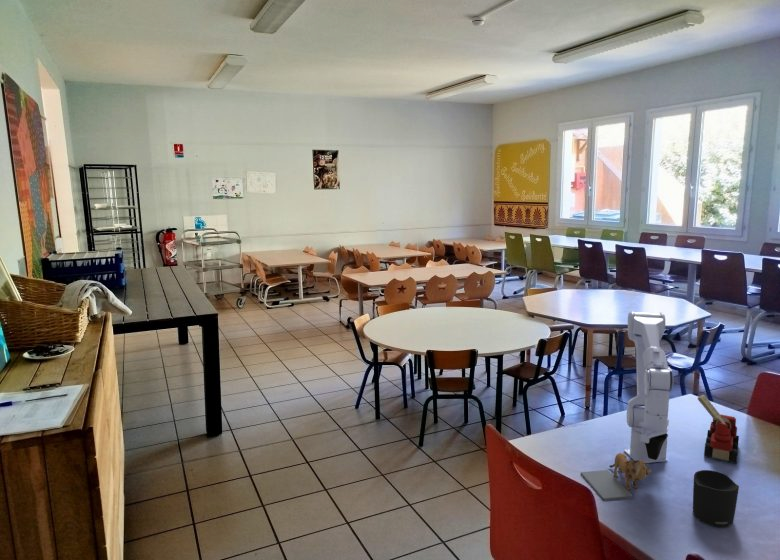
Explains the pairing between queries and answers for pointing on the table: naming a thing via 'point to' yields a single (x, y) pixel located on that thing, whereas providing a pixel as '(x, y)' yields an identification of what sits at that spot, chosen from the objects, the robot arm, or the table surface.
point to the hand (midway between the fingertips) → (652, 458)
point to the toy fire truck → (720, 434)
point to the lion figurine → (630, 469)
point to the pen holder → (714, 498)
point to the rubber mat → (606, 485)
